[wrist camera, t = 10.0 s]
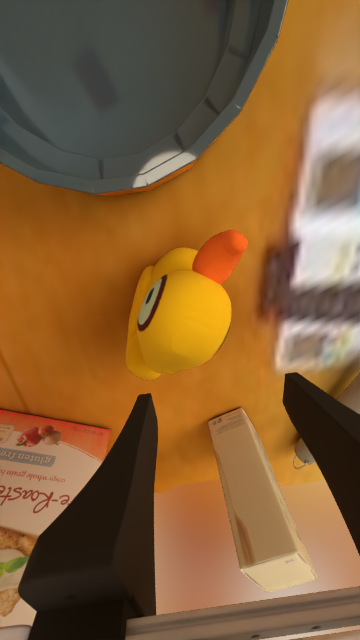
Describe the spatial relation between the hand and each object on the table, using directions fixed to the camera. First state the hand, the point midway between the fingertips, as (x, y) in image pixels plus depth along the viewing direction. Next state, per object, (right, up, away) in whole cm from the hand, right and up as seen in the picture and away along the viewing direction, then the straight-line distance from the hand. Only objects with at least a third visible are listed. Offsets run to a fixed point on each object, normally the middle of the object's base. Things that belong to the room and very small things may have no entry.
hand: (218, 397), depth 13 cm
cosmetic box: (+4, -9, +15) cm, 18 cm away
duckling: (-3, +7, +7) cm, 10 cm away
